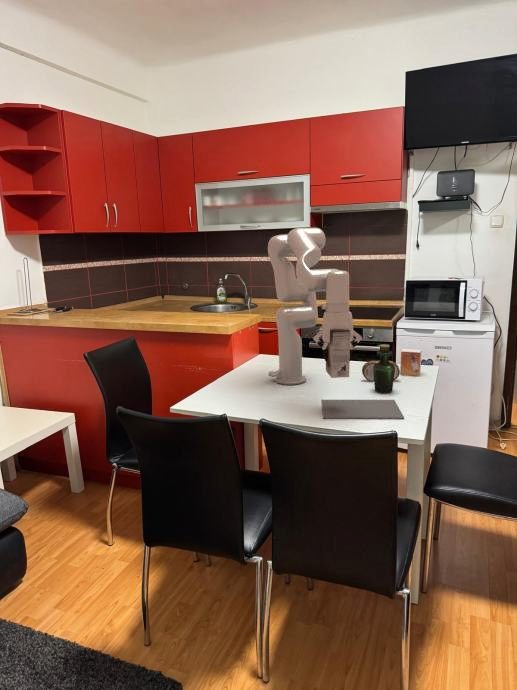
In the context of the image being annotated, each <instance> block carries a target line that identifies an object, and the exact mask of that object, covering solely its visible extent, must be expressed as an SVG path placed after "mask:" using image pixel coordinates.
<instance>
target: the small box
mask: <svg viewBox="0 0 517 690" xmlns="http://www.w3.org/2000/svg"><path fill="white" fill-rule="evenodd" d="M421 366H422V349H411V348H409V349H408V348H402V349H401V352H400V367H399V370H400V373H399V376H411V377H420V375H421V368H422V367H421Z"/></svg>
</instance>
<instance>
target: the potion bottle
mask: <svg viewBox="0 0 517 690" xmlns="http://www.w3.org/2000/svg"><path fill="white" fill-rule="evenodd" d="M390 347H391V346H390V344H386V343H385V344H379V350H377V352H376V355H377V356H378V357H379V361H380V362H378V363H376V364H375V365H374V366H373V371H374V381H373V383H374V385H373V386H374V391H375V393H378V394H385V395H386V394H391V393H392V392H393V388H394V381H395V380H394V373H395V367H394V365H393V364H392V363H390V362H388V361H390V357H391V356H393V352H392V351H391V350H390Z"/></svg>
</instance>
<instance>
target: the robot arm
mask: <svg viewBox="0 0 517 690" xmlns="http://www.w3.org/2000/svg"><path fill="white" fill-rule="evenodd" d="M326 238H327V237H326V235H325V233H324V231H323V230H322V229H321V228H319V227H297V228H293V229H291V230H290V231H289V232H288V233H286V234H278V235H274V236H272V237H271V238H270V239H269V241H268V242H267V243H268V244H267V252H268V253H267V255H268V258H269V262H270V264H271V265H272V266H271V267H272V269H273V275H274V284H275V290H276V297H277V299H278V301H279V302H280V303H285V304H286V303H288V304H291V303H300V302H301V304H295V305H286V306H281V307H280V308H278V309H277V311H276V313H275V322H276V327H277V336H278V338H277V339H278V367H279V368H278V370H275V371H273V370H272V371H271V370H270V371H268V376H269V377H271V378H272V377H273V378H274V377H275V382H276V383H278V384H280V385H284V386H286V385H287V386H292V385H295V386H296V385H300V384H301V385H302V384H304V383H305V382H306V381H307V378H306V376H304V375H303V348H302V347H303V343H302V342H303V341H302V337H301V336H300V334H299V333H298V331H297V330H299V329H307V328H313V327H315V326H316V325H317V323H318V321H319V314H318V313H319V312H318V303H317V294H316V292H318V293H319V292H325V294H326V295H325V301H326V302H325V304H322V305H321V310H325V312H324V313H323V315H322V316H323V317H322V328H321V331H319V332H317V334H316V335H314V336H313V338H312V339H313V341H314V342H315V343H316V344H317V345H318V346H319V347H320V348H321V349H322V359H324V362H326V361H327V348H326V347H327V345H328V343H330V330H332V329H333V330H334V329H342V330H350V359H352V358H353V349H355V347H356V346H357V345H358V344H359V343H360V341H361V340H362V339H363V337H362V335H361V334H359V333H358V332H356V331H355V330H354V321H353V315H352V312H351V311H350V273H349V272H348V271H346V270H340V269H338V268H320V269H319V268H318V269H316V268H315V269H311V268H312V267H314V266H315V265H316V264H318V262H319V261H320V260H321V257H322V251H321V250H322V249H323V248H324V247H325V245H326ZM287 257H296V259H297V261H296V264H295V265H296V266H294V265H293V263H292V261H291V260H290V259H289V258H287ZM321 337H322V341H321V340H320V338H321ZM354 337H355V338H356V339H355V340H354Z"/></svg>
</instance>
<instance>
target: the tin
mask: <svg viewBox="0 0 517 690" xmlns="http://www.w3.org/2000/svg"><path fill="white" fill-rule="evenodd" d="M378 362H380V360H369V361H366V363H364V364H363V366H362V368H361V373H362V375H363V377H364V379H366V381H369V382H374V371H373V366H374V365H375V364H376V363H378ZM388 362H390V363H392V364H393V365H394V367H395V373H394V381H396V380H397V379H398V378H399V376H400V367H399V365H398V364H397V363H396V362H395V361H392V360H388Z"/></svg>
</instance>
